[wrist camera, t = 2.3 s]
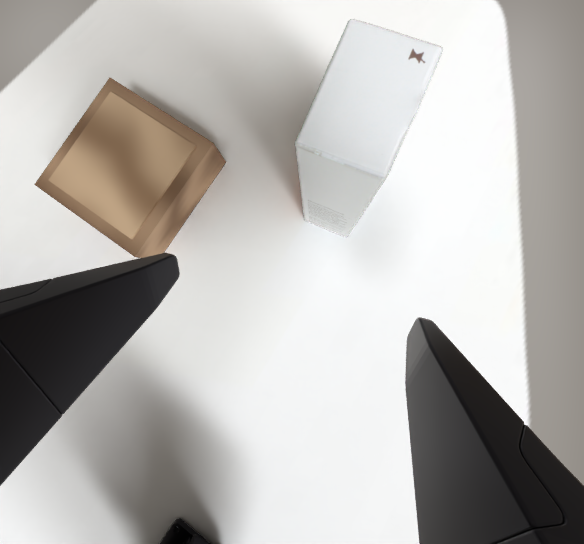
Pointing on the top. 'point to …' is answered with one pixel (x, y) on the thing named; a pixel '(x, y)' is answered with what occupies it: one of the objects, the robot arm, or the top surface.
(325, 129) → the skincare box
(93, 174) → the walnut tray
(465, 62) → the top surface
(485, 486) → the robot arm
